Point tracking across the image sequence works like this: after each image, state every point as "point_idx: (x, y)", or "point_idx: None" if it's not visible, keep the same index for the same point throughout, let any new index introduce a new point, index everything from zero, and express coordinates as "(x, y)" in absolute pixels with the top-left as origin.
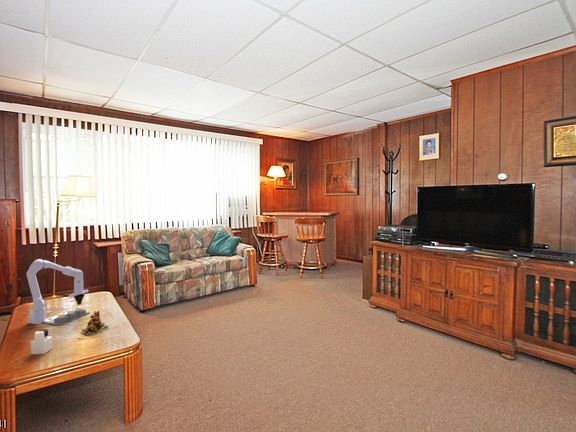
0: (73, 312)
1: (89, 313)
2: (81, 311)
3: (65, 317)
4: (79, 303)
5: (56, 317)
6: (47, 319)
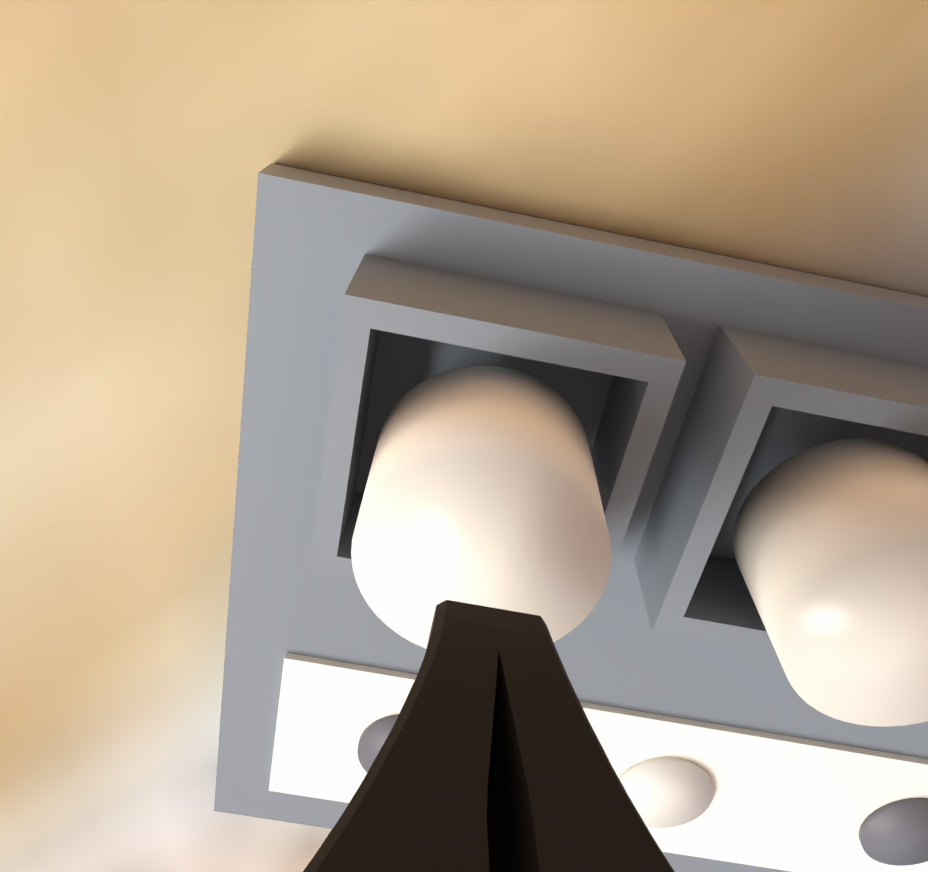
0: (884, 483)
1: (274, 165)
2: (556, 342)
3: None
4: (563, 674)
5: (800, 784)
6: (924, 865)
